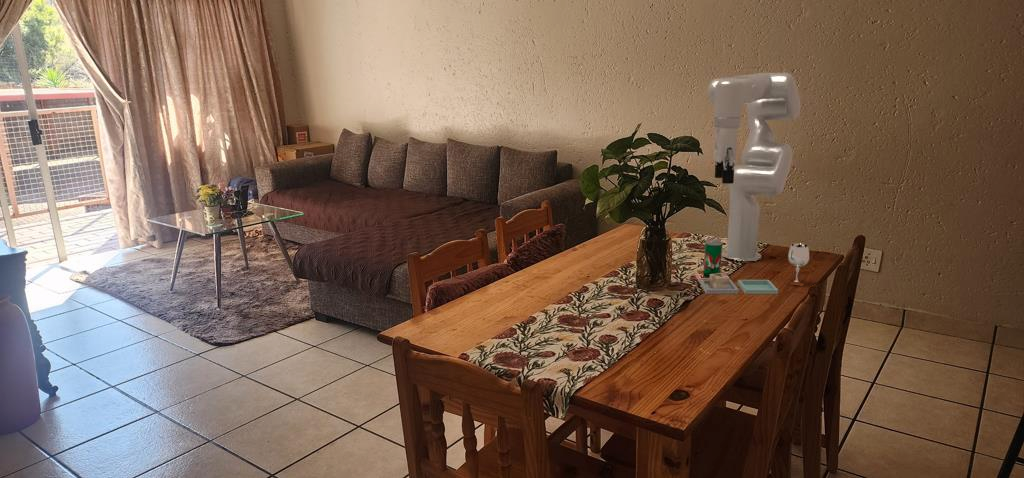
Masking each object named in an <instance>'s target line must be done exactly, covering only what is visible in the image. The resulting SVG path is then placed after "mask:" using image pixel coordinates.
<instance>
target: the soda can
mask: <svg viewBox="0 0 1024 478" xmlns="http://www.w3.org/2000/svg"><path fill="white" fill-rule="evenodd" d="M722 253H723V242H722V239H719V238H713V237H711V238H706V241H705V242H704V255H703V257H704V258H703V269H702V270H703V276H704V277H705V278H710V274H717V273H721V270H722V258H723V257H722Z"/></svg>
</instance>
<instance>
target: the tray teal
mask: <svg viewBox="0 0 1024 478" xmlns="http://www.w3.org/2000/svg"><path fill="white" fill-rule="evenodd" d="M737 285H738V286H739V288H740V289H741V290H742V292H743V293H744V294H745V295H778V294H779V289H778V288H777V287H776V286H775V285H774V284H773V283H772V282H771V281H770V280H769V279H737Z"/></svg>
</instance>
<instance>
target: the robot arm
mask: <svg viewBox="0 0 1024 478" xmlns="http://www.w3.org/2000/svg"><path fill="white" fill-rule="evenodd" d="M707 97H708V100H709V101H710V102H711V103H712V104H714V112H713V129H715V132H714V139H713V149H712V159H713V160H714V161H715V166H714V167H715V168H714V178H716V179H721V183H722V184H724V185H725V184H726V185H728V187H729V189H728V191H729V214H728V215H729V216H728V228H727V229H728V231H727V246H726V250H724V251H722V256H723V257H726V258H729V259H734V260H744V261H755V262H758V261H757V260H759V259H760V260H761V259H762V254H761V253H760V252H758V239H759V238H758V236H759V223H760V211H761V210H760V209H761V208H760V204H759V202H758V200H757V199H756V197H755V196H764V197H776V196H777V197H778V196H779V195H780V194H782V192H783V190H784V188H785V184H786V181H787V179H788V175H789V173H790V169H791V166H792V163H793V149H792V147H791V146H790V144H789V143H786V142H779V141H778V142H777V141H775V139H776V133H775V131H774V130H773V128H772V127H771V126H770V124H768V122H767V121H794V120H796V119H797V118H799V116H800V114H801V113H800V112H801V109H802V108H801V106H802V105H801V98H800V94H799V89H798V86H797V82H796V80H795V78H794V76H793V75H792V73H789V72H758V73H753V74H744V75H736V76H730V77H729V76H727V77H718V78H714V79H712V80H711V81H710V83H709V84H708V87H707ZM742 105H746V116H747V117H746V118H747V125H748V130H749V131H748V132H749V133H748V138H747V139H746V143H745V145H744V148H743V151H742V154H741V157H740V158H741V160H740V161H741V164H739V165H736V166H735V162H736V159H737V146H738V132H737V131H738V129H739V130H740V129H741V121H742V119H741V117H742ZM723 257H722V258H723ZM760 260H759V261H760Z"/></svg>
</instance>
